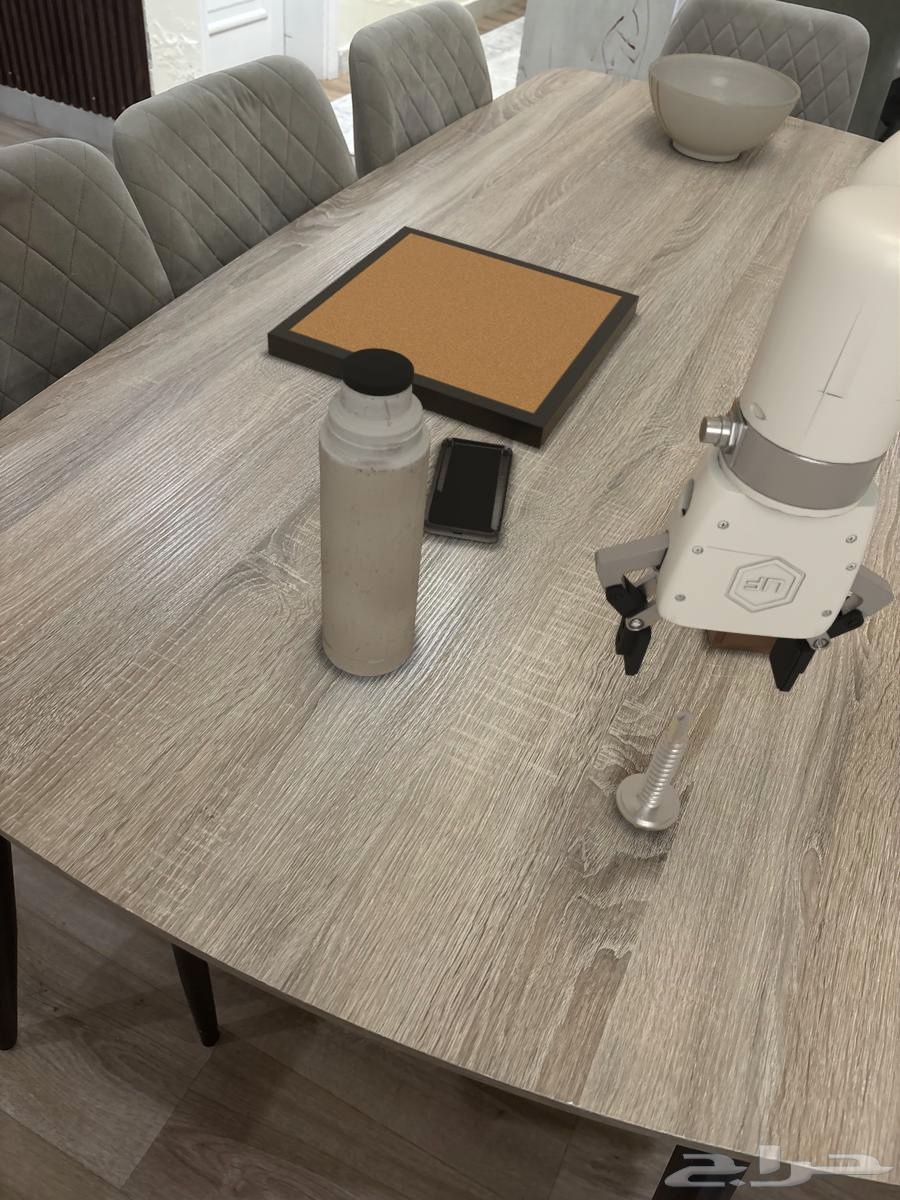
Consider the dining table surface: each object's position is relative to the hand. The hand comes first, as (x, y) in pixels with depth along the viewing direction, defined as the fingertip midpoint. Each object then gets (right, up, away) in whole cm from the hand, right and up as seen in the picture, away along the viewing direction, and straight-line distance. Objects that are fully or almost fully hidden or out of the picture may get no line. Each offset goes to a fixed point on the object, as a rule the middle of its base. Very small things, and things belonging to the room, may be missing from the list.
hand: (703, 666), depth 60 cm
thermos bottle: (-23, 0, +23) cm, 33 cm away
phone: (-14, +15, +38) cm, 44 cm away
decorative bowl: (+31, +88, +114) cm, 147 cm away
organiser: (+12, +5, +31) cm, 34 cm away
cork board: (-15, +38, +61) cm, 73 cm away
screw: (-1, -13, +13) cm, 18 cm away
